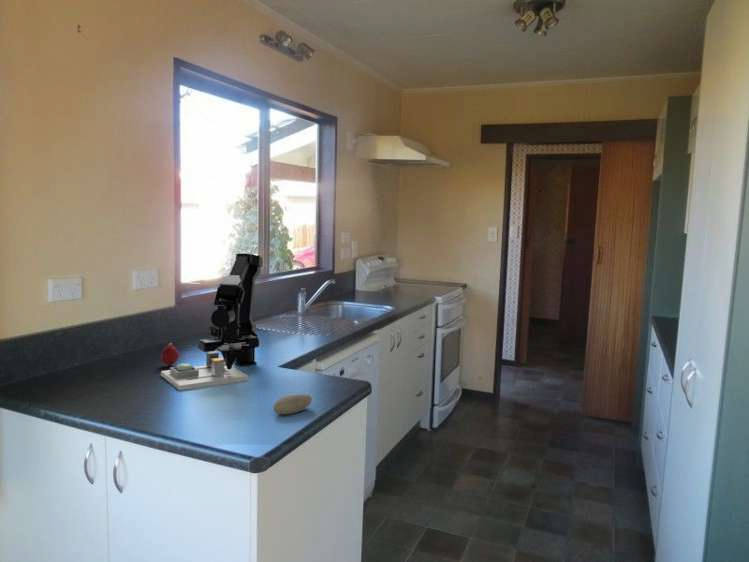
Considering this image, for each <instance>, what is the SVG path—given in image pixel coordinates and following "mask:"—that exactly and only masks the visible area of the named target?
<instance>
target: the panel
mask: <svg viewBox="0 0 749 562" xmlns="http://www.w3.org/2000/svg"><path fill="white" fill-rule="evenodd" d="M169 367H170V368H169V369H168V370H167V369H166V370H161V371H160V376H161V377H162V378H164V380H166V381H167V382H168V383H170V384H171V385H172V386H173V387H175V389H177V390H178V391H185V390H191V389H198V388H199V389H200V388H205V387H212V386H219V385H227V384H234V383H240V382H241V383H242V382H247V381H248V382H249V376H248V375H247V374H245V373H244V372H242V371H240V370H238V369H237V368H235V367H234V366H232V368H231V369H229V370H228V369H227V367H226V366H224V375H223V376H213V375H212V374H211V368H209V367H207V366H206V365H201V366H200V365H199V366H194V365H192V370H189V371H182V372H179V371H177V366H169Z"/></svg>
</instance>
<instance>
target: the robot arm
mask: <svg viewBox="0 0 749 562" xmlns="http://www.w3.org/2000/svg"><path fill="white" fill-rule="evenodd" d="M263 263H264V259H263V257H262V256H261V255H260V254H257V253H256V254H255V253H251V252H244V251H243V252H237V253H236V254H235V261H234V263H233V266H232V268H231V270H230V273H229V275H228V277H226V278H223V279H222V281H221V282H220V283H219V285H218V286H217V288H216V294H215V297H214V302H213V305H214V306H217V309H215V310H214V311H213V312H212V314H211V316H210V320H211V323H212V325H213V326H209V327H208V328H207V329H208V331H207V335H208V337H209V338H208V339H207V338H206V339H200V340H199V342H198V343H197V345H198V346H197V347H198V349H199V350H200V351H202V352H204V353H206V352H211V351H217V352H219V353H220V354H221V356H222V359H224V360H225V364H226V367H227V369H228V370H229V369H231V368H232V367H234V366H233V365H234V364H236V365H237V366H248V365H250V366H251V365H256V364H257V361H256V360H255V359H256V357H255V354H256V353H255V352H256V348H259V347H260V339H259V337H258V333H257V331H256V328H257V327H256V325H255V323H254V321H253V310H254V308H253V306H254V299H255V297H254V296H255V285H256V283H255V282H256V279H257V277H258V276H259V275H260V273H261V268H262V267H263ZM212 338H213V339H212Z"/></svg>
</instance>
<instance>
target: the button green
mask: <svg viewBox="0 0 749 562" xmlns="http://www.w3.org/2000/svg"><path fill="white" fill-rule="evenodd" d="M192 366H193V365H192V364H191V363H179V364H177V365H176V367H177V371H179V372H182V371H189V370H192Z"/></svg>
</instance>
